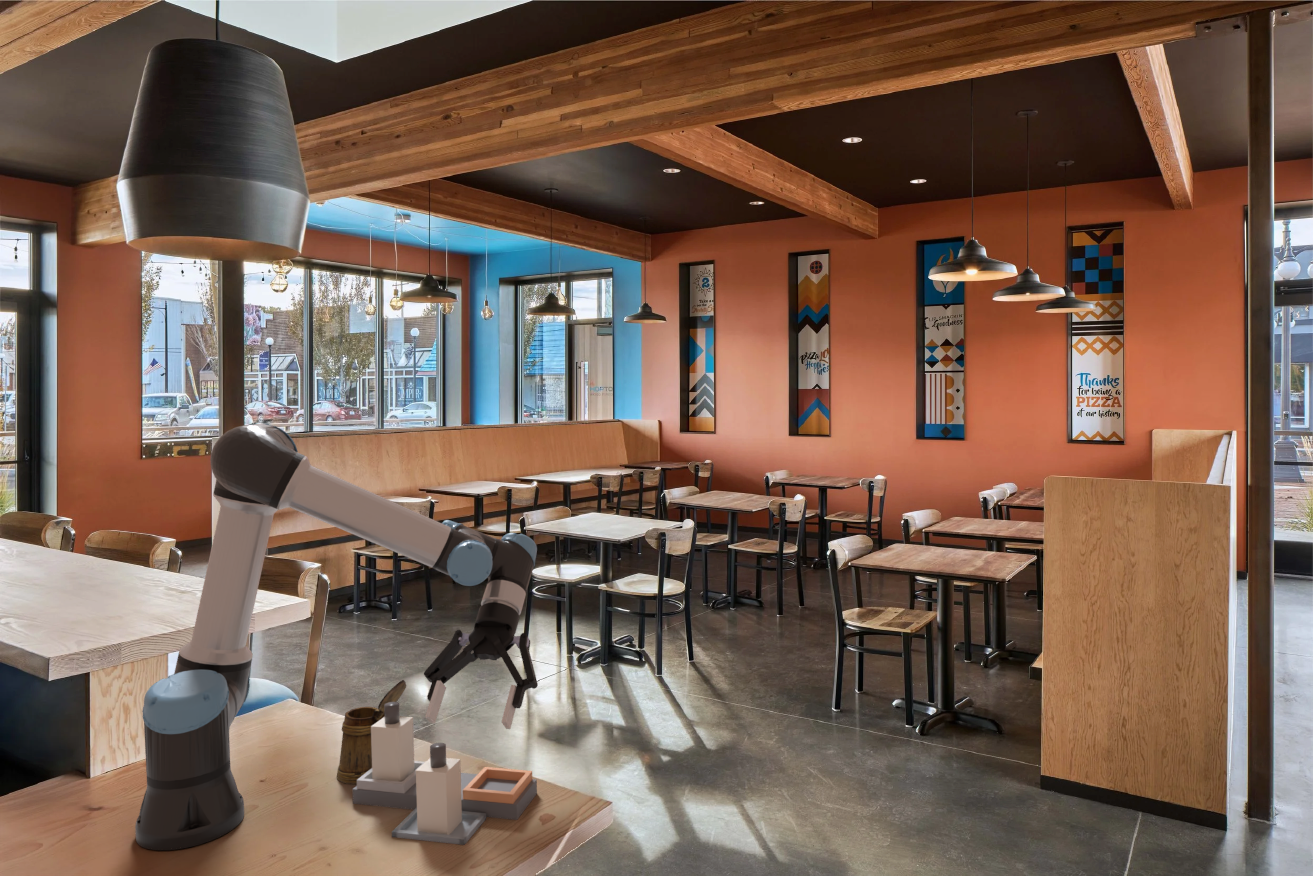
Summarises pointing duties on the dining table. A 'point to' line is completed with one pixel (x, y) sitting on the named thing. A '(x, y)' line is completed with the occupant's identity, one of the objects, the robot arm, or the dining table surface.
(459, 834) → the tray
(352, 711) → the wooden mug
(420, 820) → the bottle
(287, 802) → the dining table surface
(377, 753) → the twin plug
